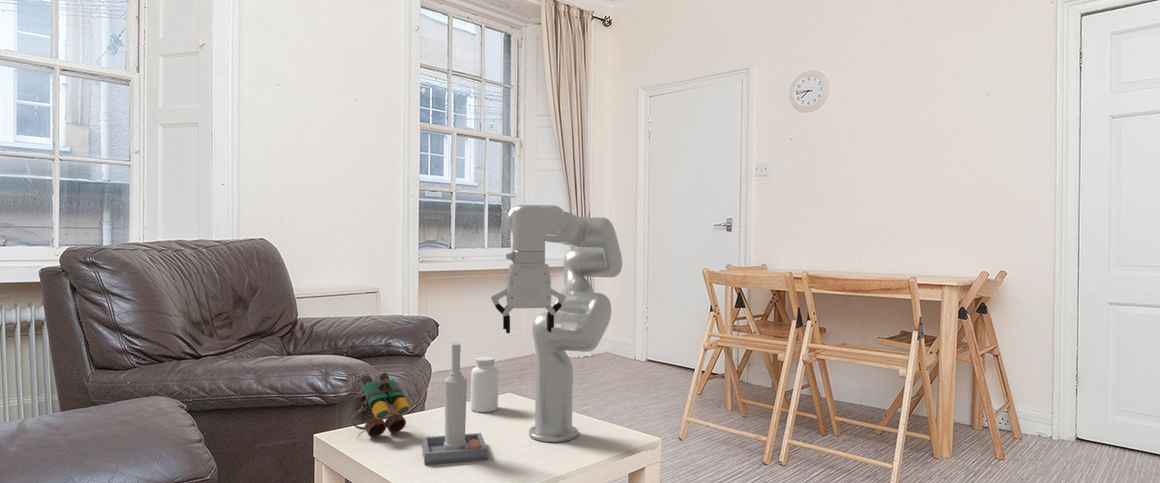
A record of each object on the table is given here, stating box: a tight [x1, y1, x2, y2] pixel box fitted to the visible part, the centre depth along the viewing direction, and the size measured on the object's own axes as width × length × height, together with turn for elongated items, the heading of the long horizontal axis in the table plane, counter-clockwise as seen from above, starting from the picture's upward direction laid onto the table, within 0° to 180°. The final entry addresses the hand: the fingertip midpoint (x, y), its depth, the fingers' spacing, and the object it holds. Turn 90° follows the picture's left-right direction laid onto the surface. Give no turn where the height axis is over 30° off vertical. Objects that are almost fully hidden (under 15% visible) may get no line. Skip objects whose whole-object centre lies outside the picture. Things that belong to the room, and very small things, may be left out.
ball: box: [467, 439, 481, 449], centre depth 151 cm, size 3×3×3 cm
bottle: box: [444, 342, 468, 451], centre depth 153 cm, size 5×5×25 cm
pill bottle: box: [470, 356, 499, 413], centre depth 191 cm, size 8×8×15 cm
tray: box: [421, 432, 489, 466], centre depth 153 cm, size 12×14×2 cm
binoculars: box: [350, 372, 411, 438], centre depth 169 cm, size 14×14×15 cm
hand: (528, 331), depth 152 cm, fingers open, 9 cm apart
